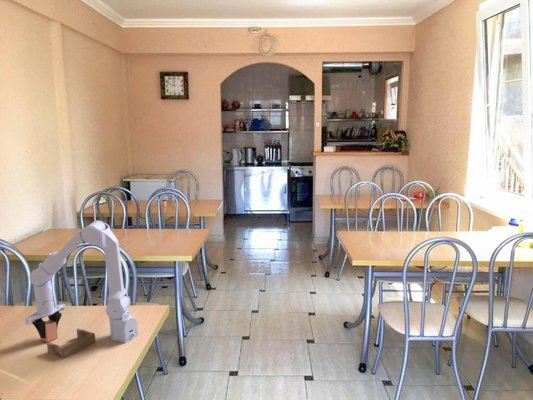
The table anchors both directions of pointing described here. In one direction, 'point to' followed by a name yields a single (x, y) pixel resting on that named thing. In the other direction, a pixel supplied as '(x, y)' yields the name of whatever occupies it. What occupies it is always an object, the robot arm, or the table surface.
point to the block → (50, 331)
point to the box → (72, 344)
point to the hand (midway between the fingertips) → (48, 335)
